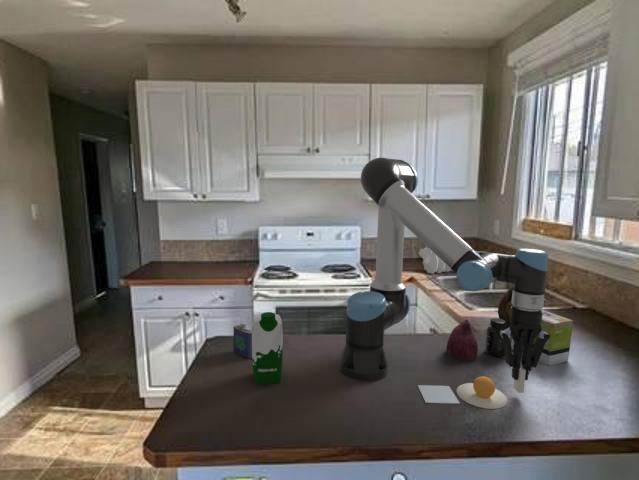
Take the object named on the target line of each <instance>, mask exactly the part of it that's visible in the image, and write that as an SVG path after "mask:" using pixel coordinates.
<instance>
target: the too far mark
mask: <svg viewBox="0 0 639 480" xmlns="http://www.w3.org/2000/svg"><path fill="white" fill-rule="evenodd" d="M417 388H418V390H419V391H420V392H419V393H420V394H421V396H422V399H423V401H424V402H425V404H444V405H445V404H447V405H448V404H449V405H451V404H452V405H460V404H461V403H460V401H459V400H458V398H457V396H456V395H455V393H454V391H453V390H452V389H451V387H450V385H426V384H425V385H424V384H423V385H421V384H419V385H418V384H417Z"/></svg>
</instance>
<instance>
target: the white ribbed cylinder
mask: <svg viewBox="0 0 639 480" xmlns="http://www.w3.org/2000/svg"><path fill="white" fill-rule="evenodd" d="M418 255H419V256H420V257H421V258H422V264H423V267H424V268H423V270H425V271H426V272H427V273H428V274H431V275H433V274H434V273H438V274H441V273H444V272H447V273H448V272H451V271H452V270H451V269H450V268H449V267H448V266H447V265H446V264H445V263H444V262H443V261H442V260H441V259H440V258H439V257H438V256H437V255H436V254H435V253H433V252H432V251H431V250H430V249H429V248H428V247H427V246H426V247H424V248H420V249H419V252H418ZM452 272H453V271H452Z"/></svg>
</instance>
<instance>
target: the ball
mask: <svg viewBox="0 0 639 480" xmlns="http://www.w3.org/2000/svg"><path fill="white" fill-rule="evenodd" d="M472 383H473V388H474V391H475V392H476V394H477V395H479V396H480V397H483V398H488V397H490V396H492V395H493V394H494V392H495V389H496V386H495V383H494V381H493V380H492V379H491V378H489V377H487V376H483V375H482V376H478V377H476V378H475V379H474V380H473V382H472Z"/></svg>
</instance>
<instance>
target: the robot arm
mask: <svg viewBox="0 0 639 480" xmlns="http://www.w3.org/2000/svg"><path fill="white" fill-rule="evenodd" d="M418 177H419V176H418V173H417V171H416V169H415V167H413V165H412V164H411V163H410V162H407V161H405V160H403V159H395V158H388V157H376V158H373V159H371V160H369V161H368V162H367V163H366V164H365V165H364V167H363V168H362V170H361V174H360V183H361V186H362V189H363V191H364V192H365V193H366V194H367V195H368V197H369V198H370V199H371V200H372V201H373V203H374V204H375V205H376V206H377V207H378V212H377V213H378V215H377V233H376V236H377V237H376V252H375V254H376V256H375V277H374V278H375V279H374V280H373V281H372V282H371V283H370V286H369V290H367V291H366V290H364V291H359V292H355V293H353V294H351V295H350V296H349V297H348V299H347V305H346V308H345V309H346V310H345V311H346V312H345V313H346V317H345V318H346V322H345V325H346V328H345V345H344V347H343V350H342V353H341V354H340V357H339V361H338V363H339V364H338V366H339V367H338V369H339V371H340V372H341V373H342V374H343V375H344V376H346V377H347V378H351V379H354V380H359V381H368V382H369V381H377V380H381V379H383V378H385V377H386V376H387V375H388V374H389V361H388V358H387V354H386V351H385V347H384V346H385V345H384V344H385V343H384V342H385V330H387V329H389V328H391V327H392V326H394V325H396V324H398V323H400V322H402V321H403V320H404V319H406V317H407V316H408V314H409V312H410V310H411V300H410V298H409V297H410V296H409V295H408V294H407V288H406V287H407V286H406V285H405V284H404V282H403V281H402V279H403V261H404V245H405V229H406V228H407V229H408V230H409V231H410V232H411V233H412V234H413V235H414V236H416V238H418V239H419V240H420V241H421V243H423V244H424V245H425V246H426V247H427V248H429V249H430V250H431V251H432V252H433V253H435V254H436V255H437V256H438V257H439V258H440V259H441V260H442V261H443V262H444V263H445V264H446V265H447V266H448V267H449V268H450V269H451V270H452V272H454V274H455V275H456V280H457V283H458V285H459V286H460V287H461V288H463V289H464V290H466V291H468V292H479V291H481V290H483V289H484V290H485V288H488V287H489V286H491V284H492V283H494V282H501V283H502V282H503V283H507V284H512V286H513V294H512V304H513V306H511V314H510V324H509V325H508V328H507V329H505V330H504V331H502V330H500V331H499V334H500V336H501V337H502V342H503V348H504V354H505V357H504V359H505V363H506V364H507V365H508V366H509V367H510V368H512V369H511V378H512V379H513V387H512V388H513V389H514V390H515V392H516V393H517V394H518V393H519V394H522V393H524V392H525V382H526V381H528V379H529V372H531V371H532V370H533V369H532V368H537V367H538V365H539V363H540V361H539V359H540V356H541V354H542V351H543V348H544V346H545V343H546V342H547V340H548V339H549V338H550V335H549V334H547V333H546V332H544V331H542V327H541V323H542V315H543V311H542V310H543V309H544V301H545V294H546V288H547V287H546V286H547V285H546V284H547V278H548V271H549V269H548V267H549V265H548V264H549V253H547V252H546V251H544V250H541V249H537V248H536V249H534V248H518V249H517V250H516V253H515V254H513V255H512V254H503V253H497V252H496V253H495V252H488V251H484V250H482V251H477V250H475V249H474V248H473V247H471V245H469V244H468V242H466V241H465V240H463V239H462V238H461V237H460V236H459V235H458V234H457V233H456V232H455V231H454V230H453V229H452V228H450V227H449V226H448V225H447V224H446V223H445V222H444V221H443V220H442V219H440V218H439V217H438V216H437V215H436V214H435V213H434V212H433V211H431V210H430V209H429V208H428V207H427V206H426V205H425V204H424V203H423V202H422V201H420V200H419V199H418V198H417V197H416V196H415V195H414V194H413V192H414V191H415V190H416V188H417V186H418V183H419V182H418V181H419V178H418ZM405 227H406V228H405ZM541 309H542V310H541ZM512 335H513V337H514V338H513V341H514V347H513V348H512V347H511V346H512V340H511V339H510V338H511V336H512ZM536 337H537V338H536ZM535 338H536V341H535V343H534V339H535ZM533 345H534V346H533ZM532 346H533V349H532ZM522 349H523V351H522Z"/></svg>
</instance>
